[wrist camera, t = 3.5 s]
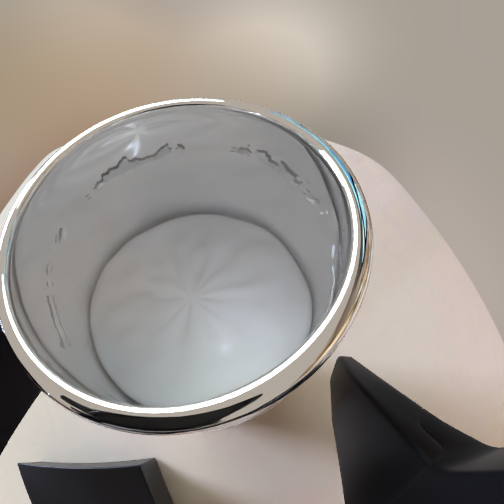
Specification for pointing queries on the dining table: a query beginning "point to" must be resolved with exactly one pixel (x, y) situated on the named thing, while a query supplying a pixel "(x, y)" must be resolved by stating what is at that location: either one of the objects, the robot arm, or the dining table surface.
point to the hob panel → (95, 482)
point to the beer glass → (183, 265)
